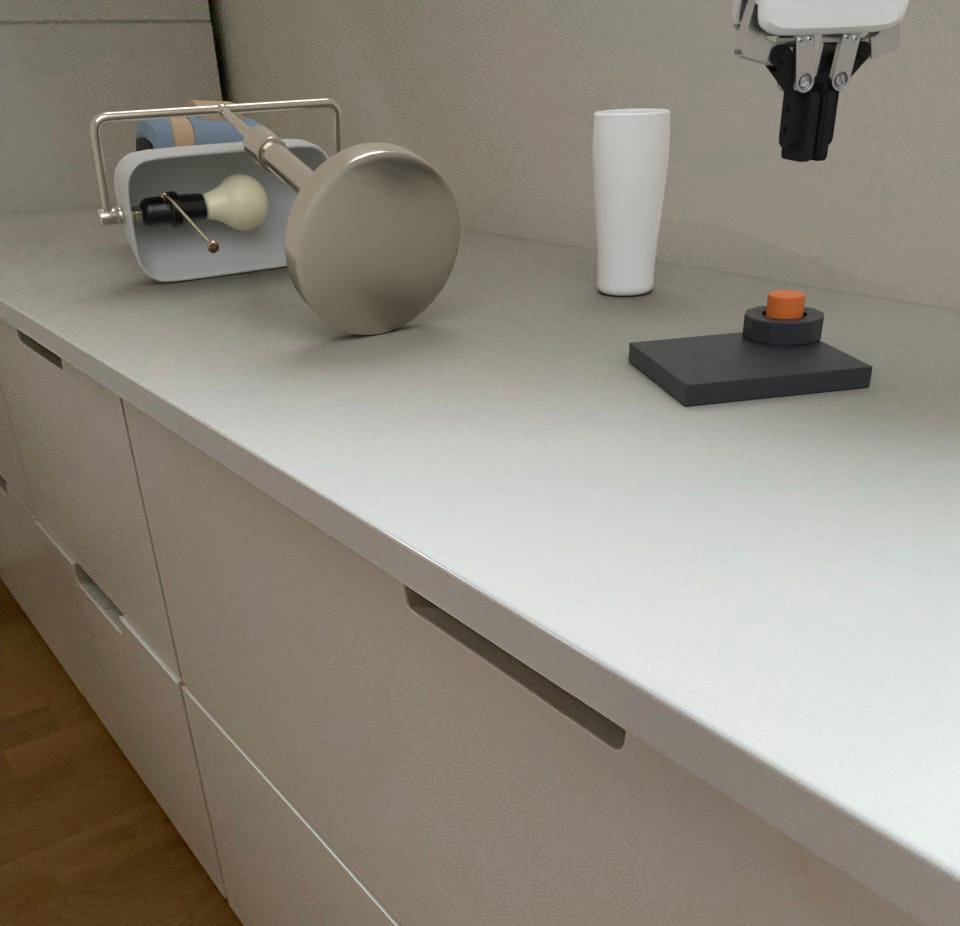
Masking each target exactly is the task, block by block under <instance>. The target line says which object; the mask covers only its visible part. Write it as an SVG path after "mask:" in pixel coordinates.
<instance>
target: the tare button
mask: <svg viewBox="0 0 960 926" xmlns="http://www.w3.org/2000/svg"><path fill="white" fill-rule="evenodd" d="M806 295H807V294H806V293H805V292H803V291H800V290H792V289H777V290H772V291H769V292H768V293H767V298H766V300H767V301H766V306H767V307H766V317H770V318H776V319H797V318H802V317H803V311H804V307H805V304H806V303H805V302H806Z"/></svg>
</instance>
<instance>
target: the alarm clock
mask: <svg viewBox="0 0 960 926" xmlns="http://www.w3.org/2000/svg"><path fill="white" fill-rule="evenodd" d="M221 103H222V104H236V103H235V102H232V101H227V100H205V99H203V100H201V99H192V100H189V101H187V102H185V104H184V105H183V107H191V106H207V105H218V104H221ZM234 115H236V116H237V117H238V118H239V119H240V120H241V121H243V122H244V123H245V124H246V125H247V126H248V127H252V126H254V125H263V126H265V125H264V124H262V123H261V122H259V121H257V120H255V119H252V118H250V117H247V116H244V115H243V113H242V114H234ZM243 138H244V136H242V135H241V134H240V133H239V132H238V131H237V130H236V129H234V128H233V127H232V126H231V125H230V124H229V123H228V122H227V121H225V120H224V119H223V118H220V117H219V116H217V115H213V116H198V117H183V118H169V119H154V120H139V121H137V123H136V132H135V152H137V151H142V150H148V149H159V148H169V147H180V146H193V145H205V144H218V143H231V142H243Z"/></svg>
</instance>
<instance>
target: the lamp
mask: <svg viewBox="0 0 960 926" xmlns="http://www.w3.org/2000/svg"><path fill="white" fill-rule="evenodd" d="M312 109H330V110H331V112H332V154H333V155H331V156H329V154H327V152H326V150H324V149H322V147H320V146H318V145H317V144H315V143H312V142H311V141H308V140H304V139H300V138H299V139H298V138H280V137H279V136H278V135H277V134H276V133H274V132H273V131H272V130H271V129H270V128H268V127H267V126H265V125H264V124H262V125H254V126H252V127H248V126H247V125H246V124H245V123H244V122H243V121H241V120H240V119H239V118H238V117H237V116H236V115H234V114H242V115H243V114H256V113H270V112H271V113H272V112H284V111H300V110H312ZM213 115H217V116H219V117H220V118H223V119H224V120H225V121H227V122H228V123H229V124H230V125H231V126H232V127H233V128H234V129H236V130H237V131H238V132H239V133H240V134H241V135H242V136H244V138H243V142H231V143H218V144H205V145H193V146H180V147H169V148H159V149H148V150H142V151H137V152H136V151H132V152H129V153H128V154H126V155H124V156H123V157H122V158H121V159H119V161H118V163H117V165H116V167H115V169H114V173H113V187H114V188H113V189H114V194H115V198H116V204H117V206H116V207H113V204H112V197H111V191H110V186H109V185H110V184H109V179H108V173H107V172H108V171H107V165H106V160H105V154H104V147H103V141H102V135H101V134H102V133H101V129H102V126H103V125H104V124H106V123H107V124H108V123H109V124H110V123H122V122H123V123H124V122H136V121H137V122H139V121H140V120H154V119H169V118H183V117H198V116H213ZM263 125H264V126H263ZM89 134H90V140H91V145H92V151H93V158H94V163H95V171H96V175H97V181H98V187H99V188H98V189H99V194H100V200H101V205H102V208H99V209H97V218H98V221H99V224H100V225H101V227H105V226H115V225H121V226H122V229H123V233H124V235H125V237H126V241H127V243H128V245H129V248H130V250H131V252H132V254H133V256H134V259H135V261H136V262H137V264H138V265H139V268H140V269H141V271H142V272H143V273H144V274H145V275H146V276H147V277H149V278H150V279H152V280H154V281H156V282H159V283H176V282H185V281H193V280H200V279H201V280H202V279H209V278H215V277H223V276H231V275H238V274H244V273H251V272H259V271H266V270H273V269H280V268H287V271H288V274H289V278H290V280H291V282H292V284H293V286H294V289H295V290H296V292H297V293H298V294H299V297H301V299H302V300H303V302H304V303H305V304H306V305H307V306H308V307H309V308H310V309H311V310H312V311H313V312H314V313H315V314H316V315H317V316H318V317H319V318H320V319H321V320H322V321H323V322H325V323H326V324H328V325H330V326H331V327H332V328H335V329H337V330H339V331H342V332H345V333H348V334H352V335H360V336H372V335H373V336H374V335H380V334H384V333H388V332H392V331H394V330H396V329H399V328H401V327H403V326H406V325H407V324H409V323H410V322H412V321H413V320H415V319H416V318H417V317H418V316H419V315H421V314H422V313H424V312H425V310H427V308H429V306H430V305H432V303H434V301H435V300H436V299H437V297H438V296H439V294H440V293H441V292H442V291H443V289H444V288H445V285H446V283H447V282H448V280H449V278H450V276H451V273H452V271H453V269H454V266H455V263H456V260H457V256H458V252H459V246H460V240H461V222H460V213H459V209H458V204H457V202H456V198H455V196H454V194H453V192H452V190H451V187H450V185H449V183H448V182H447V181H446V179H445V178H444V176H443V175H442V174H441V173H440V172H439V171H438V170H437V169H436V168H435V167H434V166H433V165H432V164H431V163H429V162H428V161H426V160H425V159H424V158H422V157H420V156H419V155H417V153H415V152H413V151H411V150H410V149H408V148H406V147H403V146H401V145H398V144H395V143H390V142H385V141H382V142H381V141H379V142H376V141H371V142H364V143H358V144H355V145H352V146H350V147H346V148H344V149H343V147H342V143H343V142H342V110H341V107H340V105H339V103H338V102H336V100H334V99H332V98H328V97H321V98H320V97H318V98H306V99H305V98H304V99H303V98H302V99H287V100H286V99H285V100H273V101H270V100H269V101H257V102H255V101H254V102H241V103H235V104H222V103H221V104H218V105H207V106H191V107H184V106H179V107H161V108H160V107H159V108H146V109H145V108H144V109H131V110H130V109H129V110H115V111H103V112H99V113H98V114H96V115H94V117H93V118H92V120H91V122H90V125H89Z"/></svg>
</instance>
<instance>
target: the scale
mask: <svg viewBox="0 0 960 926" xmlns="http://www.w3.org/2000/svg"><path fill="white" fill-rule="evenodd" d="M766 307H767V305H757V306H755V307H751V308H748V309H746V311H745V312H744V315H743V326H742V331H740V332H730V333H729V332H728V333H720V334H718V333H717V334H708V335H696V336H686V337H675V338H674V337H673V338H665V339H664V338H663V339H653V340H643V341H631V342H629V344H628V362H629V363H630V364H631V365H632V366H634V367H635V368H636V369H637V370H639V371H640V372H641V373H643V374H644V375H645V376H646V377H648V378H649V379H650V380H651V381H652V382H654V383H655V384H656V385H658V386H659V387H660V388H661V389H662V390H664V391H665V392H667V393H668V394H669V395H670V396H672V397H673V398H674V399H675V400H677V402H679V403H680V404H682V405H683V406H685V407H691V406H699V405H700V406H702V405H711V404H719V403H721V404H722V403H730V402H731V403H732V402H739V401H740V402H741V401H750V400H758V399H770V398H777V397H787V396H796V395H806V394H816V393H824V392H825V393H826V392H835V391H845V390H854V389H862V388H863V389H864V388H869V387H870V386H871V379H872V373H873V367H874V366H873V365H871V364H869V363H867V362H864V361H863V360H860V359H858V358H856V357H855V356H852V355H850V354H848V353H846V352H844V351H842V350H840V349H838V348H836V347H834V346H832V345H830V344H829V343H826V342H824V341H822V334H823V327H824V321H825V312H823V311H822V310H819V309H817V308H815V307H809V306H804V311H803V317H802V318H797V319H776V318H770V317H766Z"/></svg>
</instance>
